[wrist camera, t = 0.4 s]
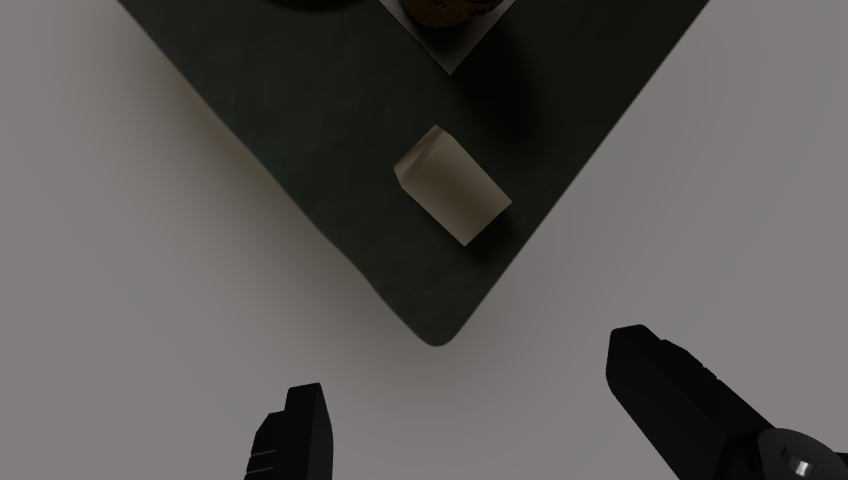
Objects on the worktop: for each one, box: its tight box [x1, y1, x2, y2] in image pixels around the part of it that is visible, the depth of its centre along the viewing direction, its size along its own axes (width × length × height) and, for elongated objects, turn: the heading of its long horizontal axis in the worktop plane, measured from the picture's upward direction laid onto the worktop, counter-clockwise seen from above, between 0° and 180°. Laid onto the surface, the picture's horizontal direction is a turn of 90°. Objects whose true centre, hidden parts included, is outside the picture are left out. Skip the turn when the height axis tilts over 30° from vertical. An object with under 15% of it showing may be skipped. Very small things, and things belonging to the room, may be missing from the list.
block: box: [393, 124, 512, 246], centre depth 33 cm, size 5×7×6 cm
